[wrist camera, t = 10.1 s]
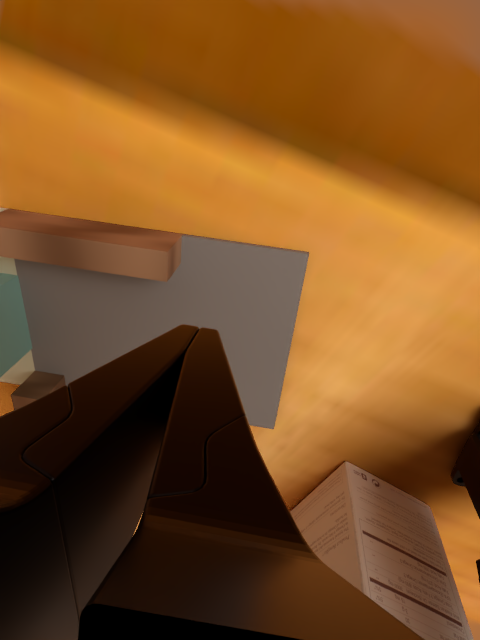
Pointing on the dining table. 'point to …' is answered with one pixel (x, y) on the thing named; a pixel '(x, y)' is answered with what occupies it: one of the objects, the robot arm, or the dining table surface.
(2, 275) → the block
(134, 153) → the dining table surface
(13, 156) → the dining table surface
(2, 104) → the dining table surface
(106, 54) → the dining table surface
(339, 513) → the supplement box
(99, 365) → the grey board
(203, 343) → the robot arm
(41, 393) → the tunnel
